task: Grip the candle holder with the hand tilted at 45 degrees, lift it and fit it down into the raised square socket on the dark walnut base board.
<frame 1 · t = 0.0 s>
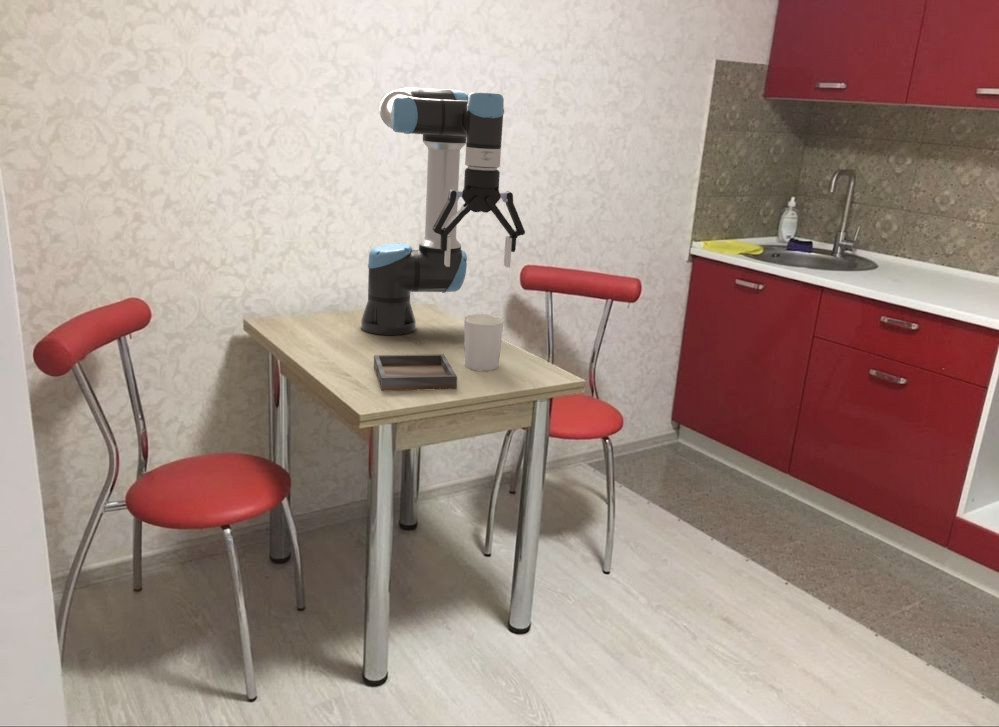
hand: (477, 266, 190), 28 cm above the table, tool pointing down, fingers open, 13 cm apart
socket base: (414, 377, 201), on the table
candle holder: (481, 366, 213), on the table
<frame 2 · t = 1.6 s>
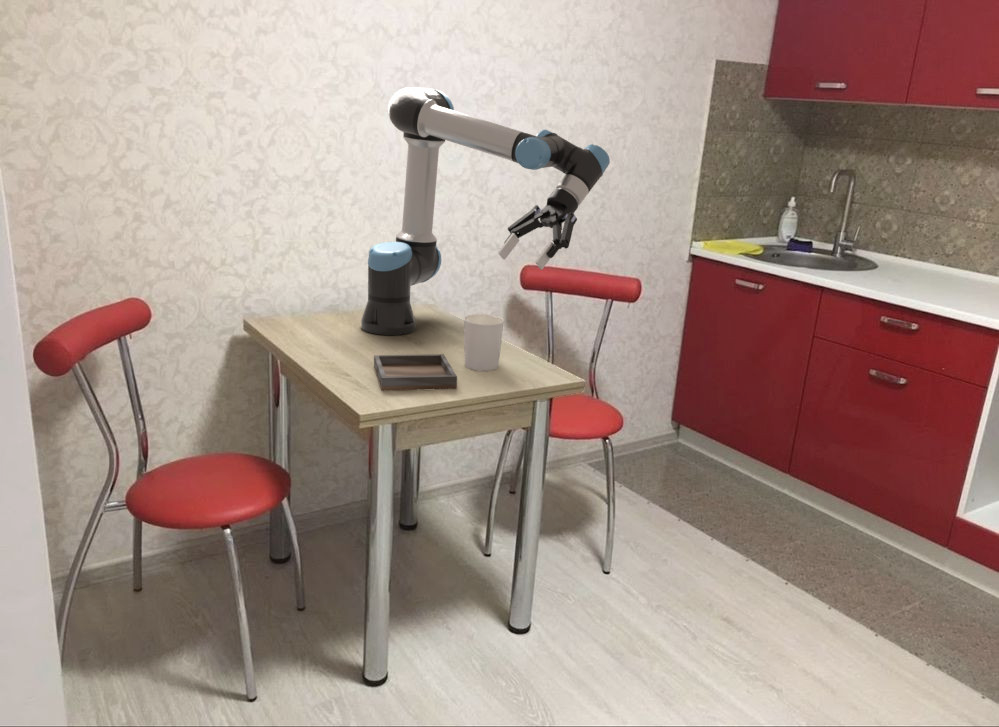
hand: (519, 260, 211), 26 cm above the table, tool tilted 45°, fingers open, 13 cm apart
nothing on the table moved.
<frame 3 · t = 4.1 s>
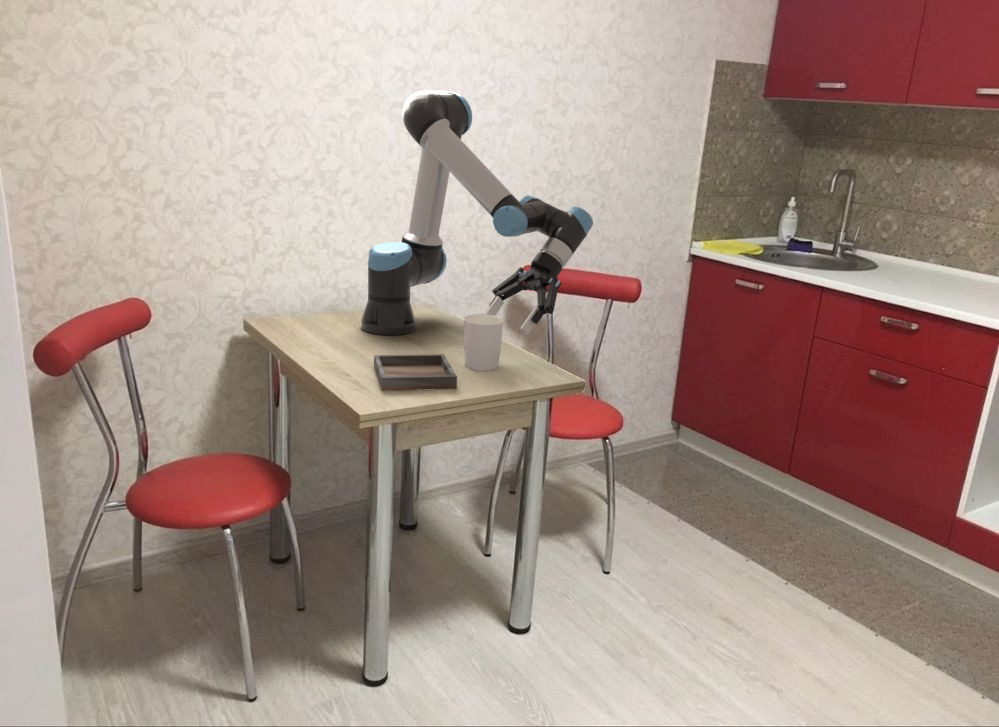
hand: (504, 325, 212), 10 cm above the table, tool tilted 45°, fingers open, 13 cm apart
nothing on the table moved.
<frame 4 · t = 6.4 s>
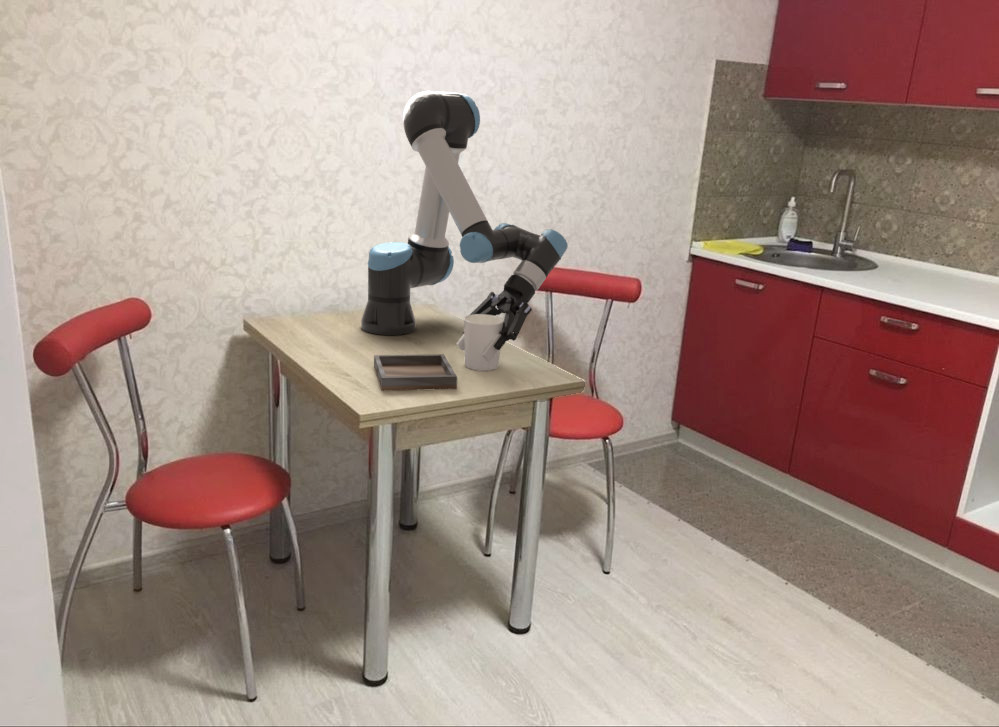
hand: (472, 352, 209), 4 cm above the table, tool tilted 45°, fingers closed on candle holder, 9 cm apart
candle holder: (481, 366, 212), on the table, touching gripper
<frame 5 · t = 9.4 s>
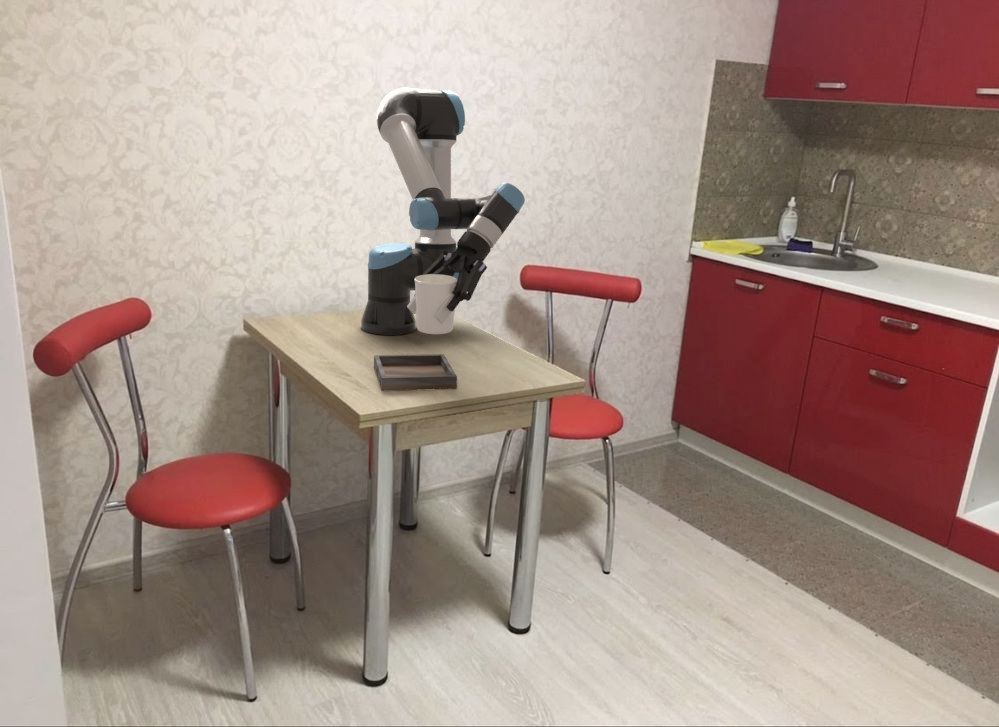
hand: (424, 315, 196), 15 cm above the table, tool tilted 45°, fingers closed on candle holder, 9 cm apart
candle holder: (434, 330, 199), point 11 cm above the table, touching gripper
when the fingers open (6 cm above the table, at t = 12.5 s): candle holder drops 1 cm, resting on socket base.
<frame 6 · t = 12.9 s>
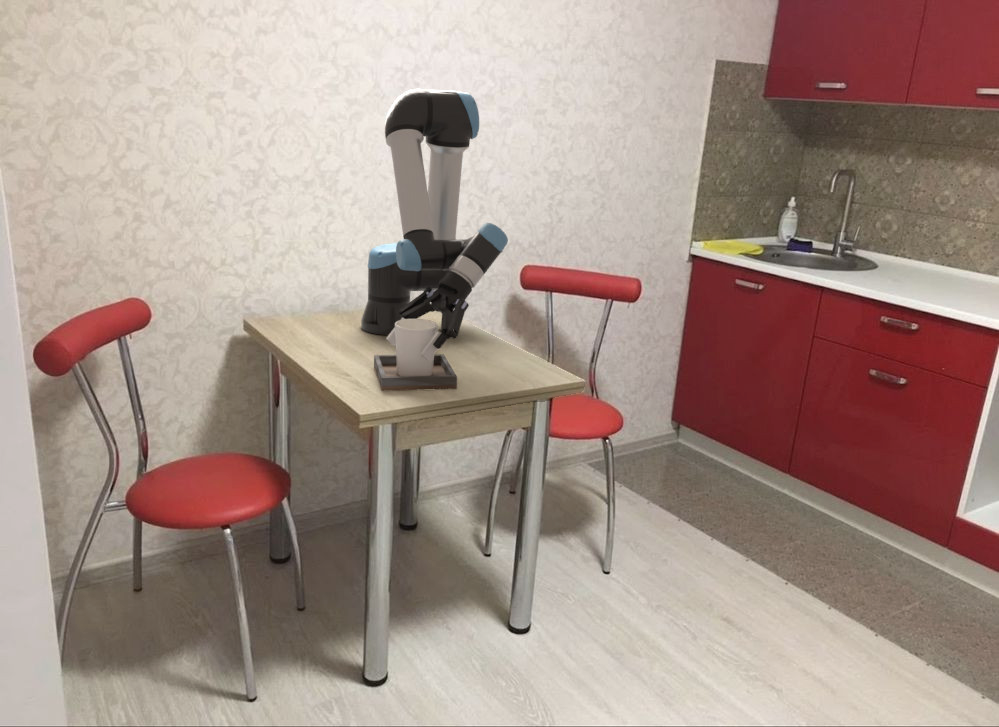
hand: (406, 349, 197), 7 cm above the table, tool tilted 45°, fingers open, 13 cm apart
candle holder: (414, 374, 201), point 1 cm above the table, touching socket base
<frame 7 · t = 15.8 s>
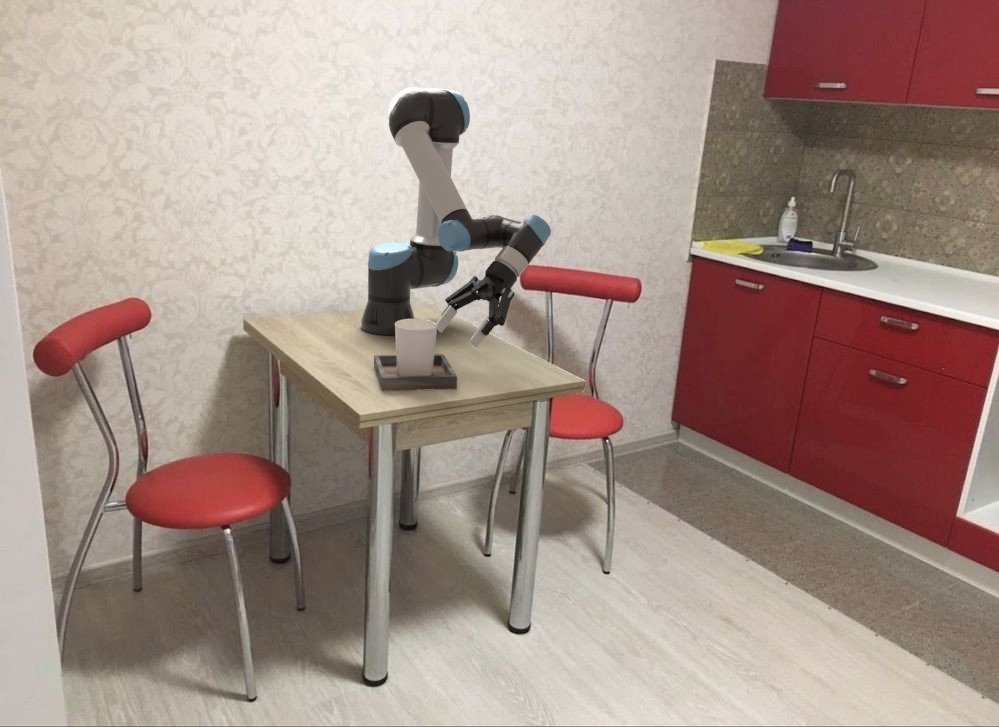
hand: (454, 336, 205), 8 cm above the table, tool tilted 45°, fingers open, 13 cm apart
nothing on the table moved.
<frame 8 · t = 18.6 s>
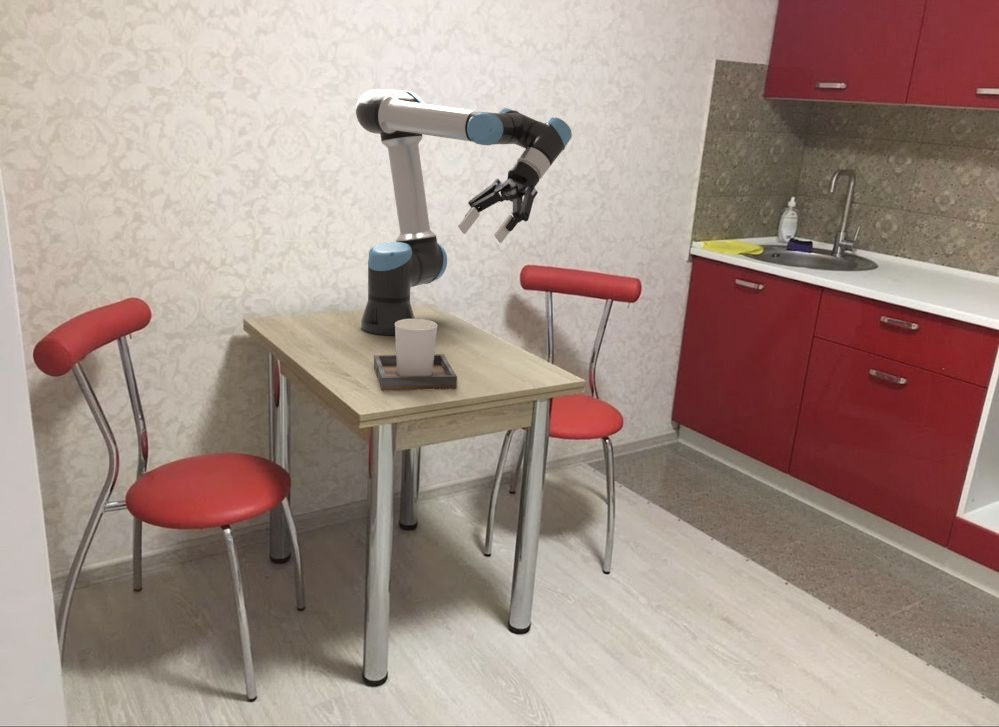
hand: (478, 234, 208), 32 cm above the table, tool tilted 45°, fingers open, 13 cm apart
nothing on the table moved.
at the end: candle holder 0.1 cm off-centre on the socket base, point 0.8 cm above the socket base's base; candle holder tilted 0°; the gripper is holding nothing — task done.
